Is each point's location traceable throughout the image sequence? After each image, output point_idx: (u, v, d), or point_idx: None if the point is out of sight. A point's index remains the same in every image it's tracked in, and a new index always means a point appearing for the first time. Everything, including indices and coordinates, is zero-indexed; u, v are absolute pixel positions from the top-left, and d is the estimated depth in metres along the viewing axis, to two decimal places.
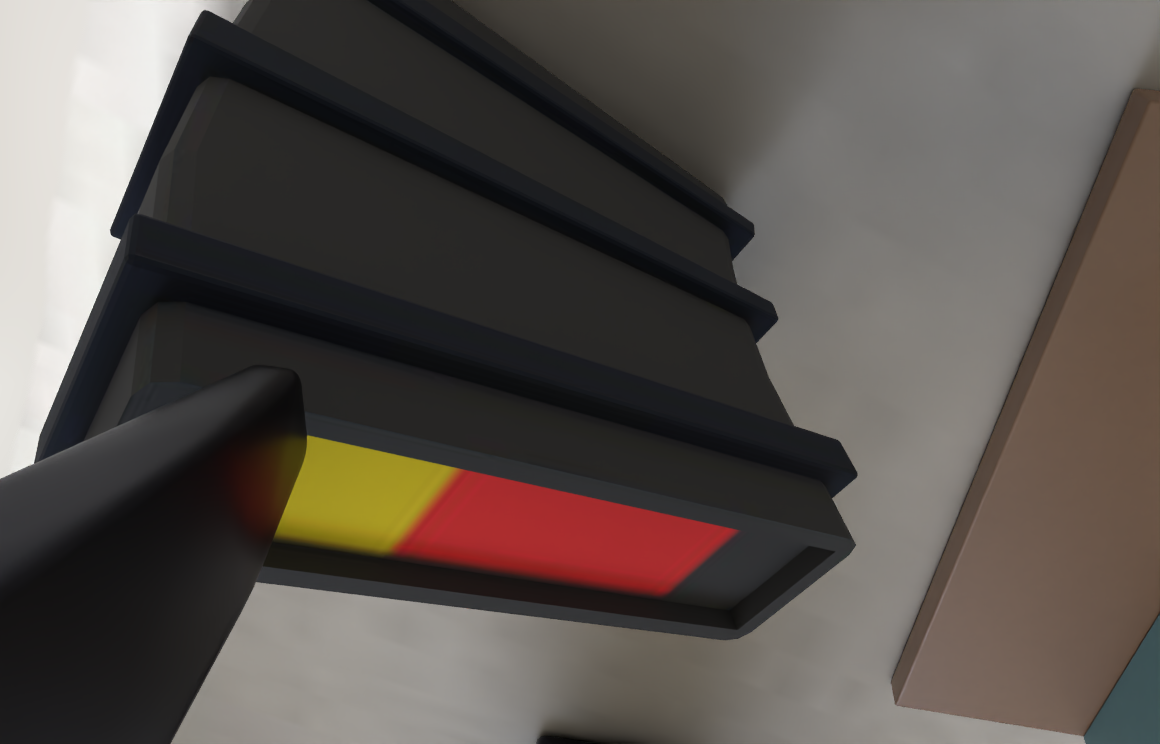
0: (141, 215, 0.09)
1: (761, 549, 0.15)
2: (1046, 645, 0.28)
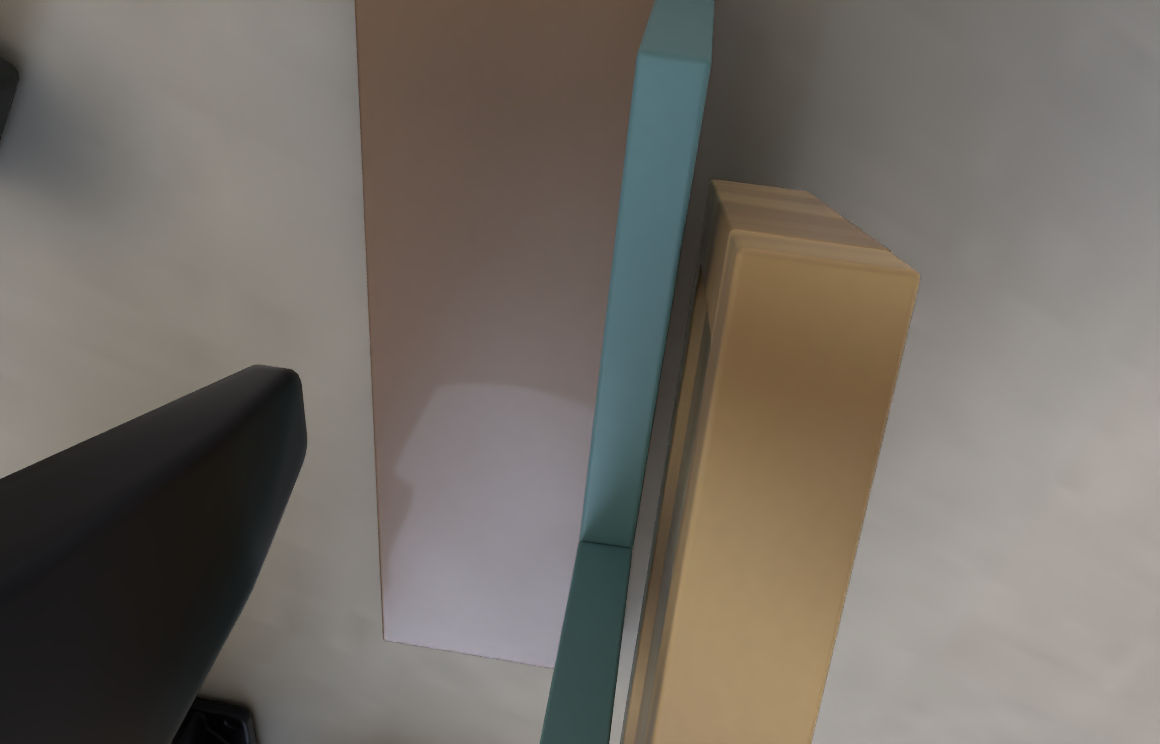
0: None
1: None
2: (499, 570, 0.26)
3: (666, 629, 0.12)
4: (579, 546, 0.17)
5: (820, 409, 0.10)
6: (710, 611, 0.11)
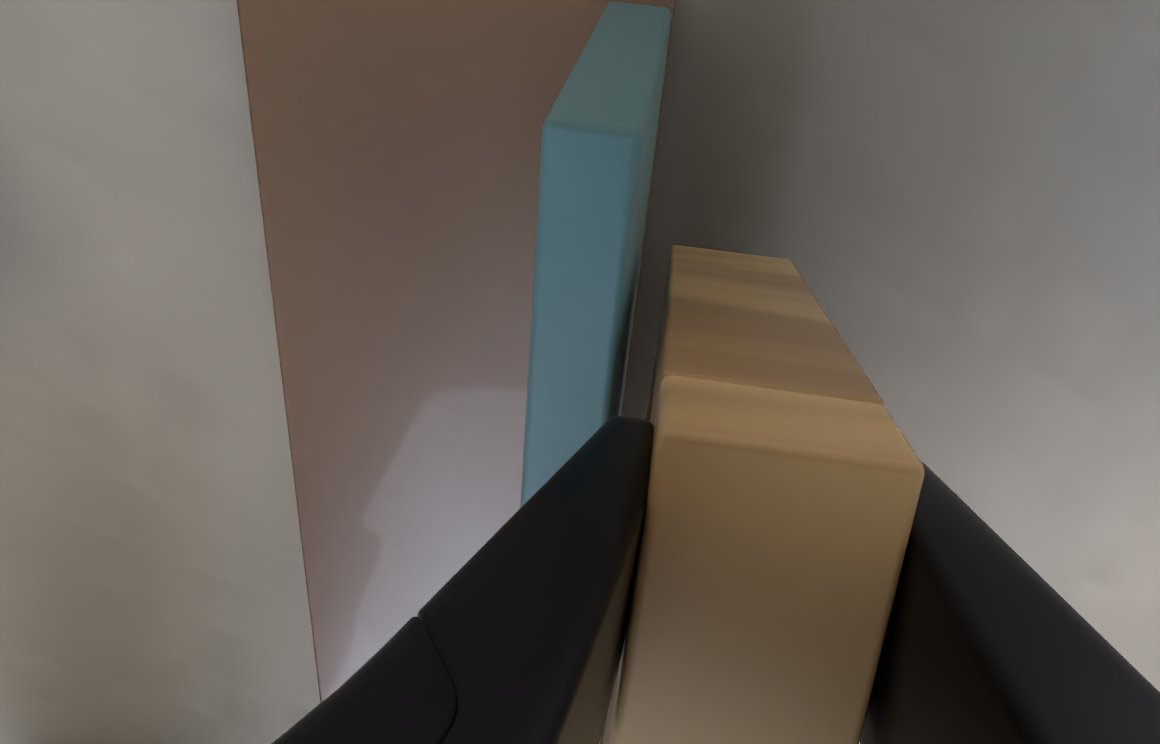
0: None
1: None
2: None
3: None
4: None
5: (782, 648, 0.07)
6: None
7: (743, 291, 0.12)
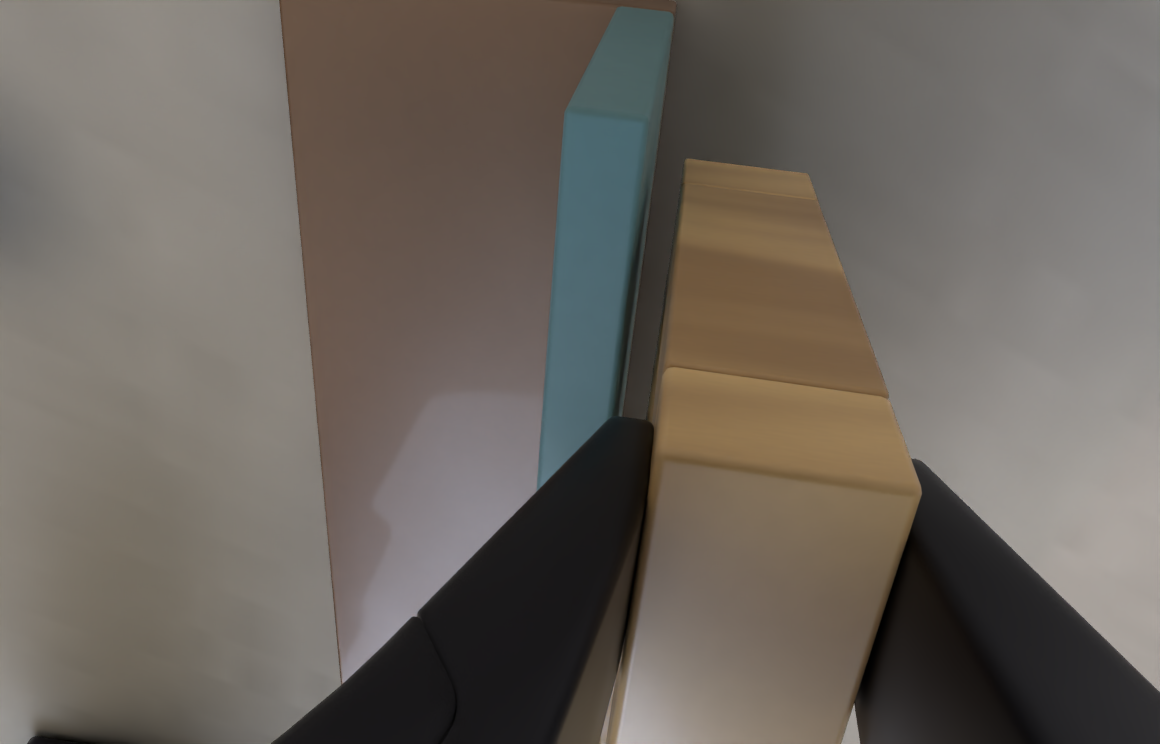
0: None
1: None
2: None
3: None
4: None
5: (776, 645, 0.08)
6: None
7: (756, 229, 0.12)
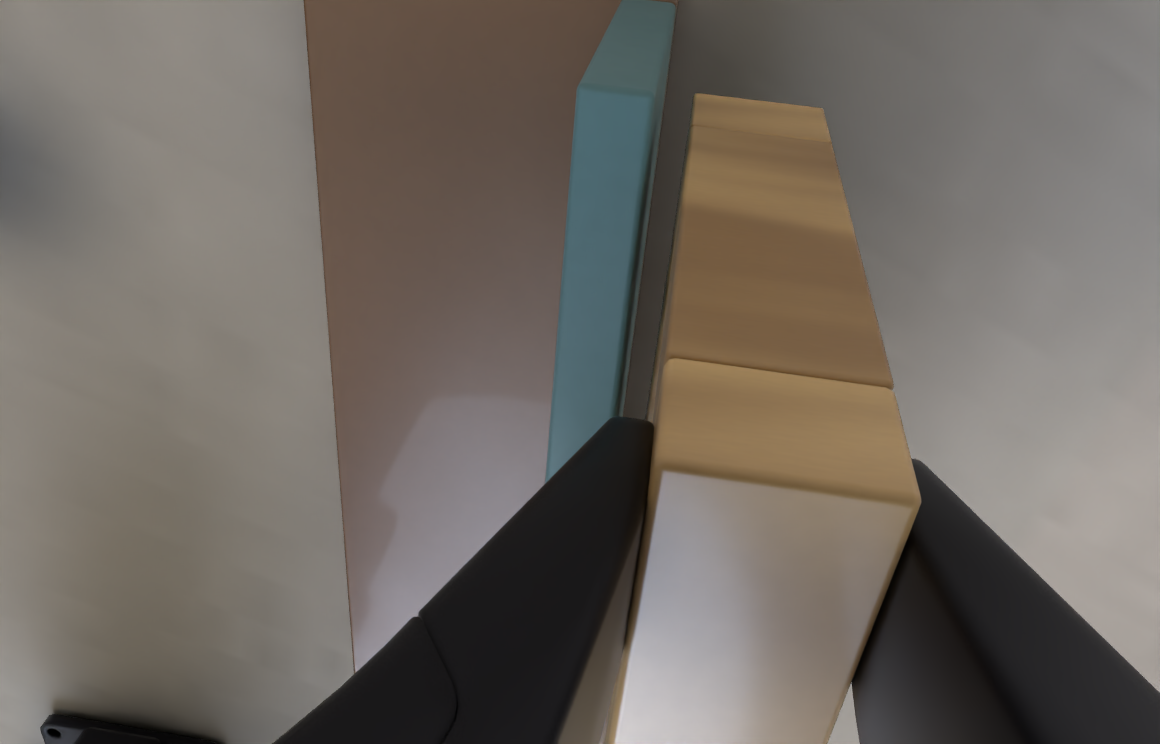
0: None
1: None
2: None
3: None
4: None
5: (774, 636, 0.08)
6: None
7: (765, 181, 0.11)
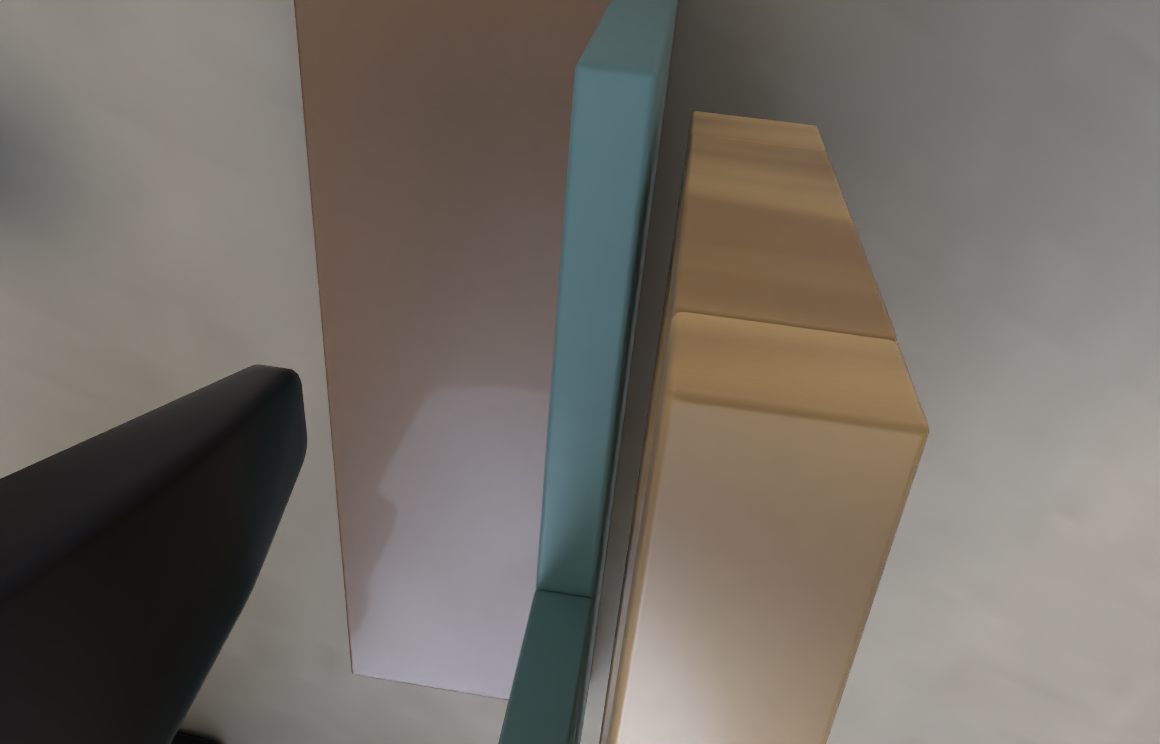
0: None
1: None
2: (469, 603, 0.25)
3: None
4: (535, 596, 0.15)
5: (784, 583, 0.08)
6: None
7: (764, 179, 0.12)
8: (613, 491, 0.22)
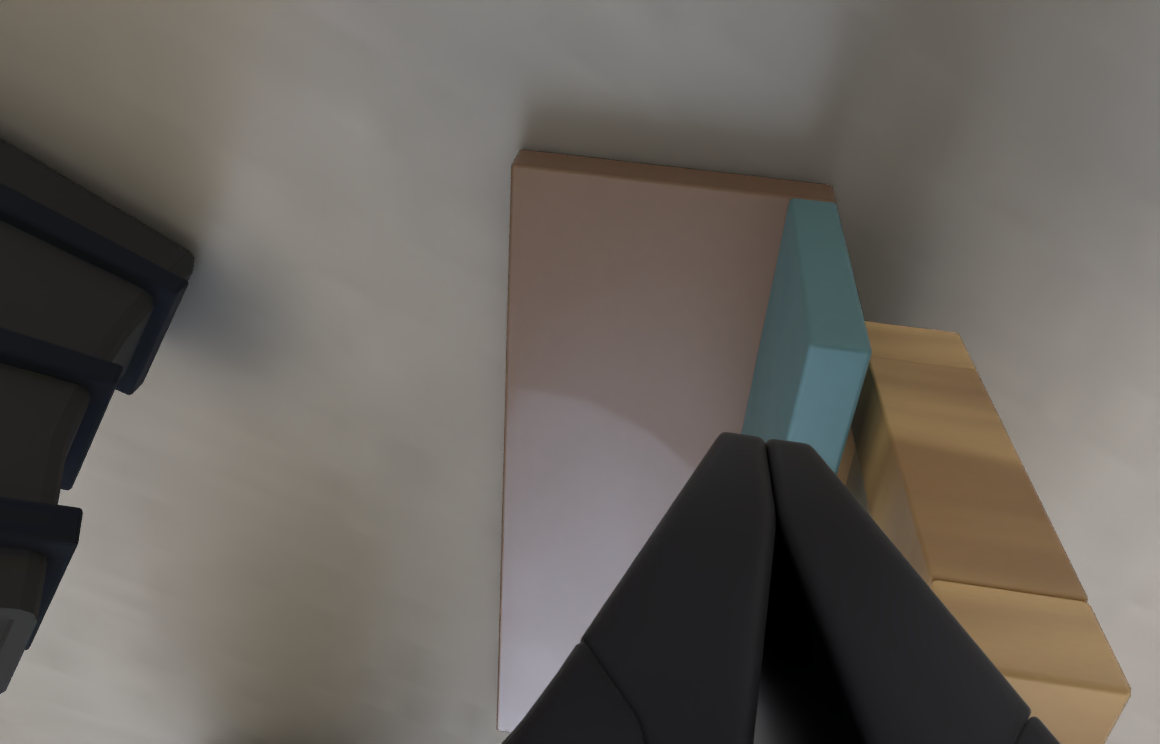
0: None
1: None
2: None
3: None
4: None
5: None
6: None
7: (941, 413, 0.15)
8: None
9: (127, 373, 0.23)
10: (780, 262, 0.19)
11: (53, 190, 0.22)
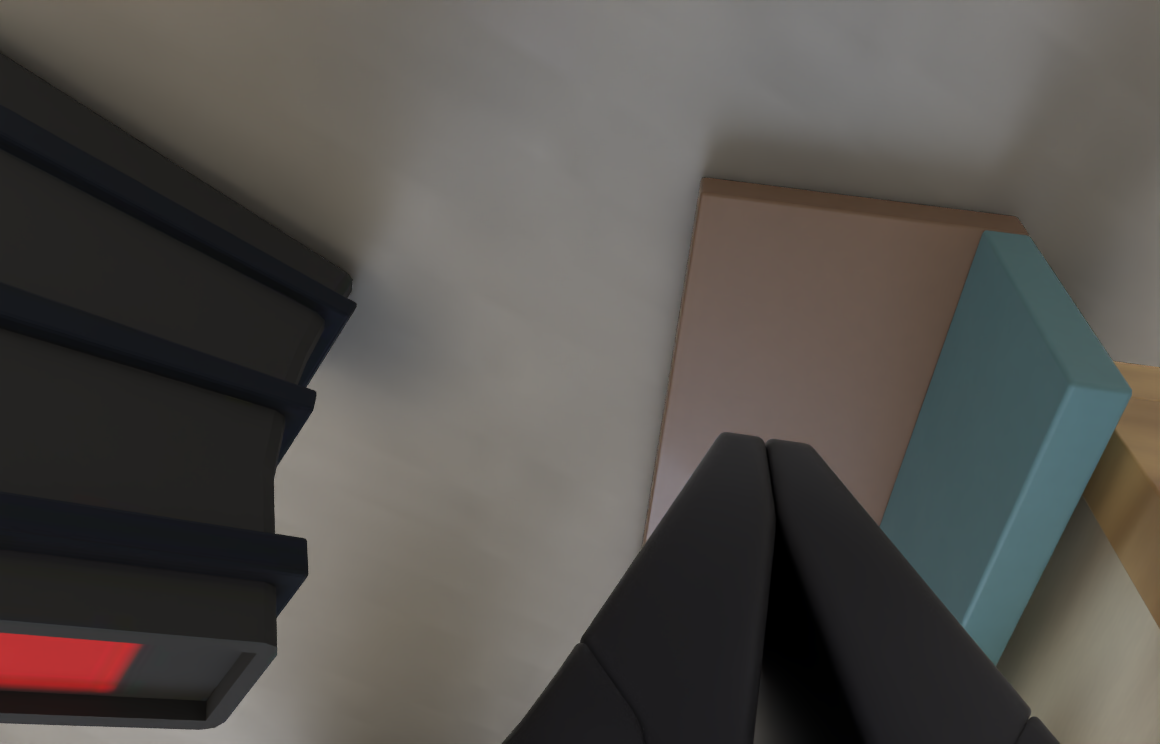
0: None
1: (191, 650, 0.15)
2: None
3: None
4: None
5: None
6: None
7: None
8: None
9: None
10: (972, 294, 0.19)
11: (221, 211, 0.22)
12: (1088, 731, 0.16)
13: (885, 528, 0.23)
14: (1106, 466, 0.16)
